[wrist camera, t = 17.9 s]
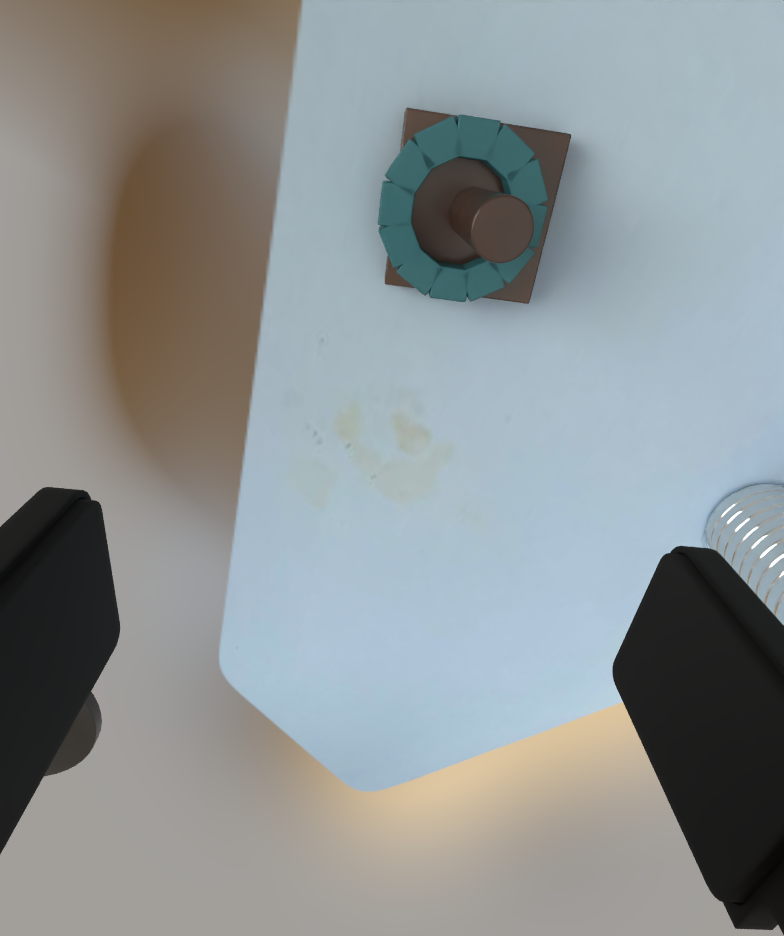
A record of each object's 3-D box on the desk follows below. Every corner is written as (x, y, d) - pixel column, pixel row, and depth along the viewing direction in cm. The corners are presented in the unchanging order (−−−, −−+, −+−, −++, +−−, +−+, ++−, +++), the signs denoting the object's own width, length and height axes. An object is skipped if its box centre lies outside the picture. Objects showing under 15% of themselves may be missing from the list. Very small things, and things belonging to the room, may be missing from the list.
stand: (384, 279, 30) (384, 322, 22) (405, 110, 26) (414, 84, 18) (523, 298, 31) (573, 346, 23) (563, 135, 27) (641, 122, 19)
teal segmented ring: (371, 283, 29) (370, 290, 28) (390, 106, 25) (391, 103, 24) (516, 303, 30) (523, 310, 28) (557, 133, 26) (567, 131, 24)
